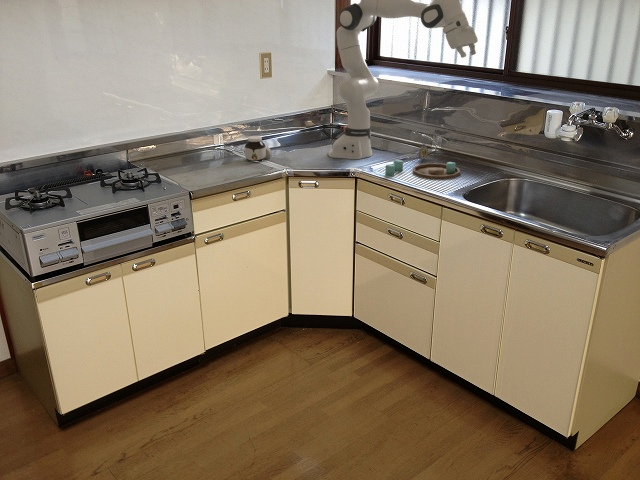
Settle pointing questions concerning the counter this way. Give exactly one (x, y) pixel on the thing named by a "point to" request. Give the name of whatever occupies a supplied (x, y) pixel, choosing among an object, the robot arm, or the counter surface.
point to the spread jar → (256, 149)
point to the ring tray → (434, 171)
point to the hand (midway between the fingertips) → (469, 55)
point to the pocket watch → (424, 153)
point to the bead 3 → (450, 167)
